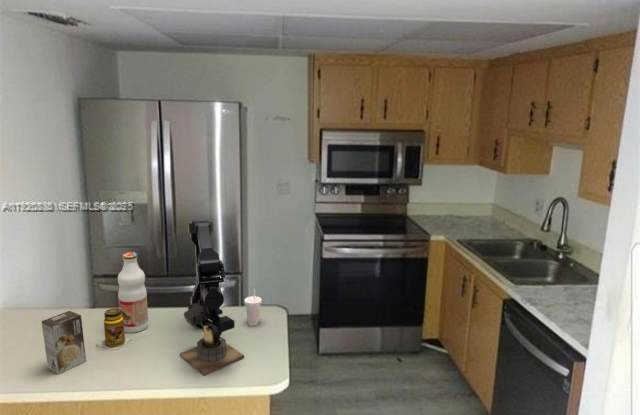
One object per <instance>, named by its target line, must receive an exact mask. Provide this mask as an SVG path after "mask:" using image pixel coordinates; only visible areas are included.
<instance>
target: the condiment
mask: <svg viewBox="0 0 640 415" xmlns="http://www.w3.org/2000/svg"><path fill="white" fill-rule="evenodd" d="M103 314H104V319H103V325H104V338H105V339H103V340H101V341H100V342H99V343H97V344H96V346H97V347H102V348H106V349H110V350H115V351H117V350H118V349H119V348H121V347H123V346H124V345H126V344H128V342H130V341H131V339H132V338H126V336H125V335H126V334H125V333H126V332H124V321H123V317H122V314H121V310H120V309H119V307H118V308H117V307H116V308H115V307H114V308H109V309H106V310H105V311H104V313H103Z"/></svg>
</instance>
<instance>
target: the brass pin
mask: <svg viewBox="0 0 640 415" xmlns="http://www.w3.org/2000/svg"><path fill="white" fill-rule="evenodd" d="M209 326H212V322H207V323H205V324H204V331H203V335H204V336H203V338H204V346H205V347H206V348H215V347H217V346H218V342H217V343H215V344H214V342H213V337H212V330H211V329H209V328H208V327H209Z"/></svg>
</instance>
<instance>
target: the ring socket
mask: <svg viewBox="0 0 640 415" xmlns="http://www.w3.org/2000/svg"><path fill="white" fill-rule="evenodd" d="M179 357H180V358H182V359H183V360H184V361H185V362H186V363H188V364H189V365H190V366H191V367H192V368H194V369H195V370H196V371H197V372H199V373H200V374H201V375H203V376H206V375H209V374H211V373H213V372H215V371H218V370H220V369H223V368H225V367H228V366H229V365H232V364H234V363H237V362H239V361H240V360H244V359H245V354H243V353H241V352H240V351H239V350H237V349H236V348H235V347H233V346H232V345H230V344H229V343H227V341H226V339H225V338H224V337H223V336H220V338H219V340H218V346H217V347H215V348H206V347H205V346H204V337H202V338H201V339H199V340H198V341H197V342H196V346H194V347H191V348H189V349H186V350H185V351H181V352H179Z"/></svg>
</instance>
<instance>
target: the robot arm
mask: <svg viewBox="0 0 640 415" xmlns="http://www.w3.org/2000/svg"><path fill="white" fill-rule="evenodd" d="M187 233H188V235H189V236H190V237H189V238H190V239H191V241H192V243H193V244H194V248H195V249H194V254H195V274H196V283H195V286H194V287H193V289H192V295H191V296H190V305H189V306H188V308H187V310H186V311H185V312H184V313H183V316H184V319H185V320H186V323H187V324H189V325H190V326H191V327H196V328H198V329H200V330H201V329H202V331H203V332H204V324H205V323H207V322H212V326H209V327H208V328H209V329H211V330H212V337H213V342H214V344H215V343H217V342H218V340H219V338H220V337H222V334H223V333H224V332H226V331H229V330H231V329H234V328H235V320H234V319H232V318H231V317H229V316H227V315H223V316H220V315H222V314H223V309H221V307H222V306H223V304H224V303H225V302H224V301H225V297H224V295H223V292H222V289H221V287H220V283H225V278H226V272H225V264H224V262H223V261H222V260H220V255H219V253H218V252H216V251H215V250H214V246H213V240H212V234H213V233H214V222H213V221H209V219H204V220H191V221H190V223H188V224H187ZM219 275H220V276H219Z"/></svg>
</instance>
